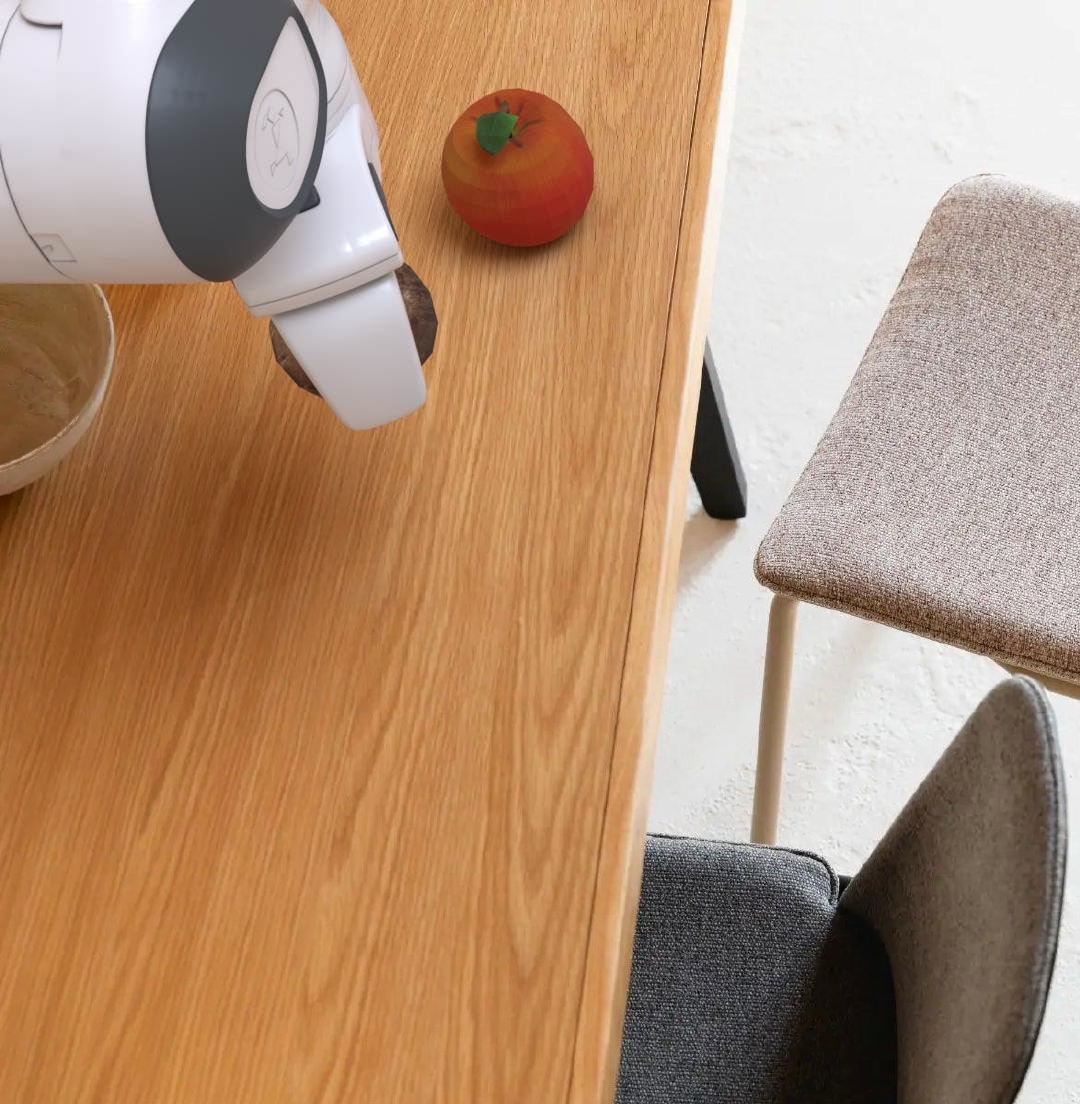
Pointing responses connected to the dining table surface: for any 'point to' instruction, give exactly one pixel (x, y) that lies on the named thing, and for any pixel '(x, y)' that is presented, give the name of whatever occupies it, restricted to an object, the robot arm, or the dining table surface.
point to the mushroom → (418, 315)
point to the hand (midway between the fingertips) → (360, 333)
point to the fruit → (517, 168)
